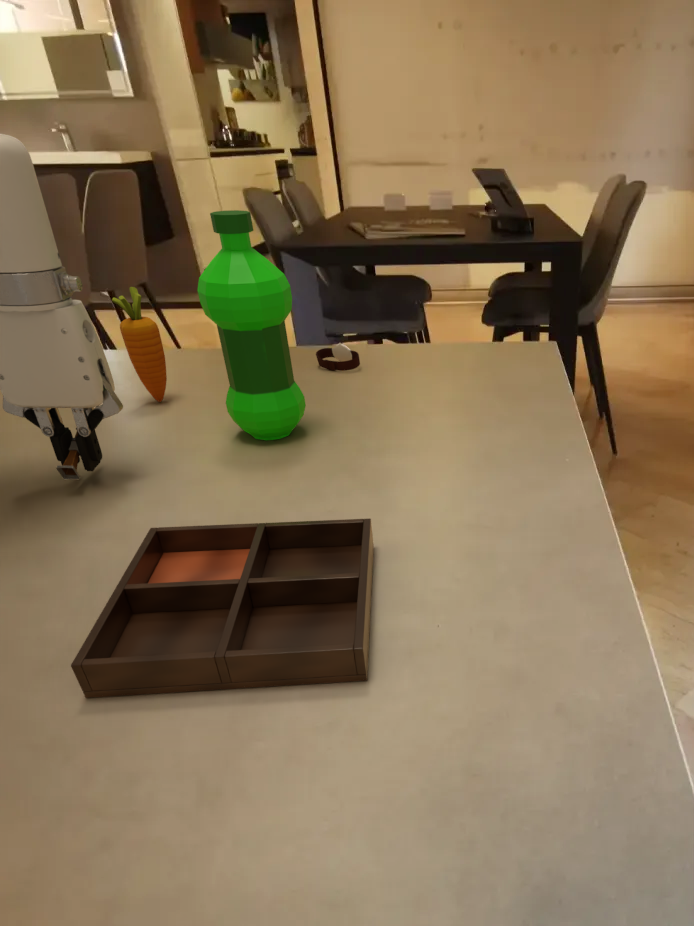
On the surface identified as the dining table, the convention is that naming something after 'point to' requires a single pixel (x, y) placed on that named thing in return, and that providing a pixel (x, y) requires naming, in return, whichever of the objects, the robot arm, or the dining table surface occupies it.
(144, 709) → the dining table surface
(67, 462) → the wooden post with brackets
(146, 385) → the carrot
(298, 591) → the grid
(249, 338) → the plastic bottle
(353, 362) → the watch
